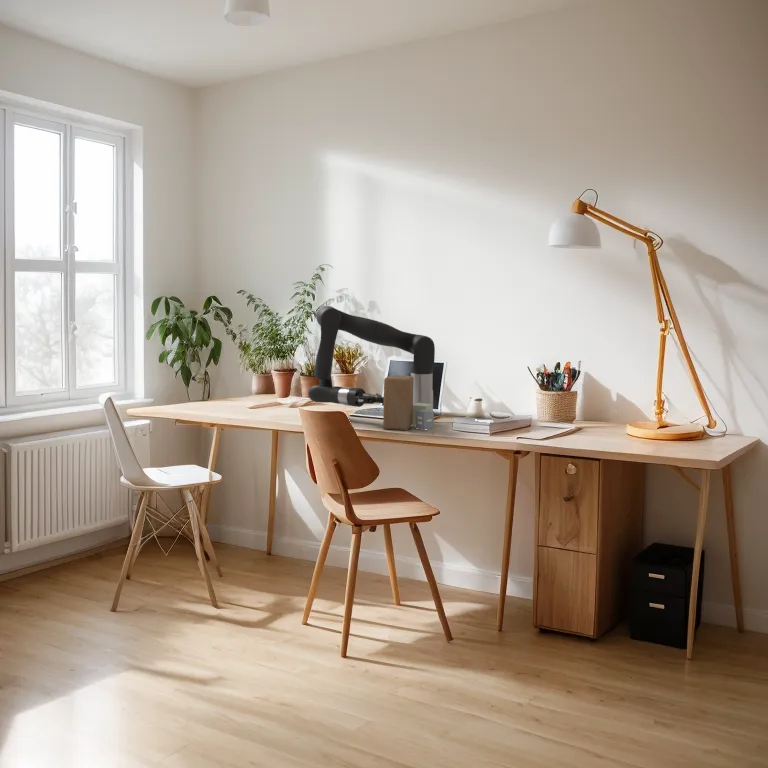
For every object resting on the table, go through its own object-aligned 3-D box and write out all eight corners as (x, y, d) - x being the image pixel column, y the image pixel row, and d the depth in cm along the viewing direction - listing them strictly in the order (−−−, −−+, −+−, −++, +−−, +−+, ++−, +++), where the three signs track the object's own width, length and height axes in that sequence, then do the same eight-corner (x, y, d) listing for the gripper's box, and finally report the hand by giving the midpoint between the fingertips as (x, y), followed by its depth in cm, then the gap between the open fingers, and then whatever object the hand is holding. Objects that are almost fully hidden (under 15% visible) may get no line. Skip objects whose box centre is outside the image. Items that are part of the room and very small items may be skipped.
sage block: (417, 422, 343) (418, 402, 342) (431, 423, 340) (432, 404, 339) (411, 424, 337) (411, 405, 336) (425, 426, 335) (426, 406, 334)
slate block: (425, 427, 333) (425, 409, 332) (434, 428, 329) (434, 411, 328) (415, 428, 330) (415, 410, 329) (424, 430, 326) (424, 412, 325)
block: (408, 430, 325) (409, 379, 322) (382, 429, 327) (383, 377, 324) (412, 426, 335) (414, 375, 332) (388, 424, 337) (389, 374, 334)
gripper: (341, 389, 337) (376, 393, 327) (361, 385, 348) (396, 389, 338) (341, 408, 338) (376, 412, 328) (361, 403, 349) (396, 407, 339)
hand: (386, 400), depth 333 cm, fingers closed
